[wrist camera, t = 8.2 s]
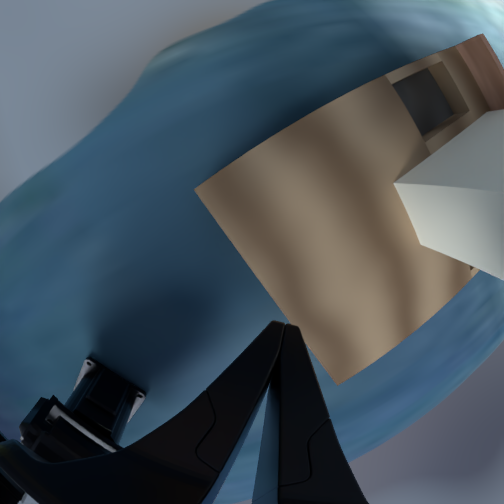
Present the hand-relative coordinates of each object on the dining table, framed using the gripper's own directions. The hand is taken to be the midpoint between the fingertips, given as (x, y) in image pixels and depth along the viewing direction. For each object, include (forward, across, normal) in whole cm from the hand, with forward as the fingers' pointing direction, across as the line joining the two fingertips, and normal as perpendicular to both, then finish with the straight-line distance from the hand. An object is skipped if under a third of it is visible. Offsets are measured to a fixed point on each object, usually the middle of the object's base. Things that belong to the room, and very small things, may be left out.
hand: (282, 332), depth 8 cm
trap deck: (+15, -8, -2) cm, 17 cm away
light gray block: (+14, -12, -5) cm, 19 cm away
